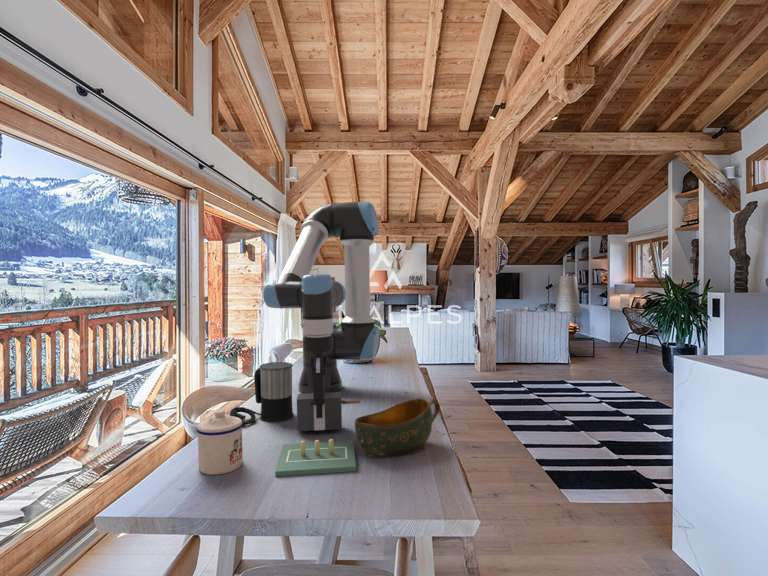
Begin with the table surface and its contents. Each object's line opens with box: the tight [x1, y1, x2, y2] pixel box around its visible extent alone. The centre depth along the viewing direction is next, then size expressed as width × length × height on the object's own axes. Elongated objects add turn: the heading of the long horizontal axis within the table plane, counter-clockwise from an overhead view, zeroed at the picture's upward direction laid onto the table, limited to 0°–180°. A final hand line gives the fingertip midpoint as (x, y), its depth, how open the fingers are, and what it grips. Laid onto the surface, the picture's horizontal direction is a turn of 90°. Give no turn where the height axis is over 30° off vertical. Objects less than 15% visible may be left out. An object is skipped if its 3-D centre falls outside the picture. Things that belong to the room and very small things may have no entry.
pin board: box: [274, 438, 357, 477], centre depth 94 cm, size 14×16×4 cm
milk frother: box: [229, 361, 294, 426], centre depth 120 cm, size 14×16×15 cm
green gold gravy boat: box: [354, 398, 441, 459], centre depth 99 cm, size 13×20×10 cm, turn 92°
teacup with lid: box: [196, 409, 244, 476], centre depth 92 cm, size 12×9×12 cm
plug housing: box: [296, 391, 361, 432], centre depth 111 cm, size 5×16×8 cm, turn 97°
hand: (320, 425), depth 111 cm, fingers closed on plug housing, 5 cm apart
